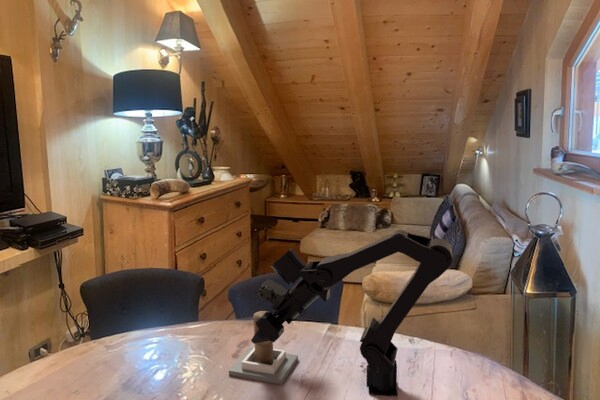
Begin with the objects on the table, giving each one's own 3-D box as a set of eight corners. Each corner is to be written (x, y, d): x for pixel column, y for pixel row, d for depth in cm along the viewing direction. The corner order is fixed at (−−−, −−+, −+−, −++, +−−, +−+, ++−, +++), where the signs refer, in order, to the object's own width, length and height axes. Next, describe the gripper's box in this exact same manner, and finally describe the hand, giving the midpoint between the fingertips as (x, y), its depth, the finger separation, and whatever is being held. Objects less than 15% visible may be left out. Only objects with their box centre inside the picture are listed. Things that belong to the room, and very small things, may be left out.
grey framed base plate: (297, 359, 118) (297, 348, 117) (281, 384, 107) (281, 373, 106) (249, 351, 122) (249, 341, 122) (229, 374, 111) (228, 363, 111)
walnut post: (276, 359, 116) (274, 312, 113) (269, 368, 112) (267, 320, 109) (259, 356, 117) (257, 310, 115) (252, 365, 113) (250, 317, 111)
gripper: (291, 260, 118) (254, 296, 123) (262, 285, 100) (221, 325, 106) (320, 292, 116) (281, 326, 122) (296, 322, 99) (252, 361, 104)
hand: (260, 333), depth 113 cm, fingers open, 9 cm apart
